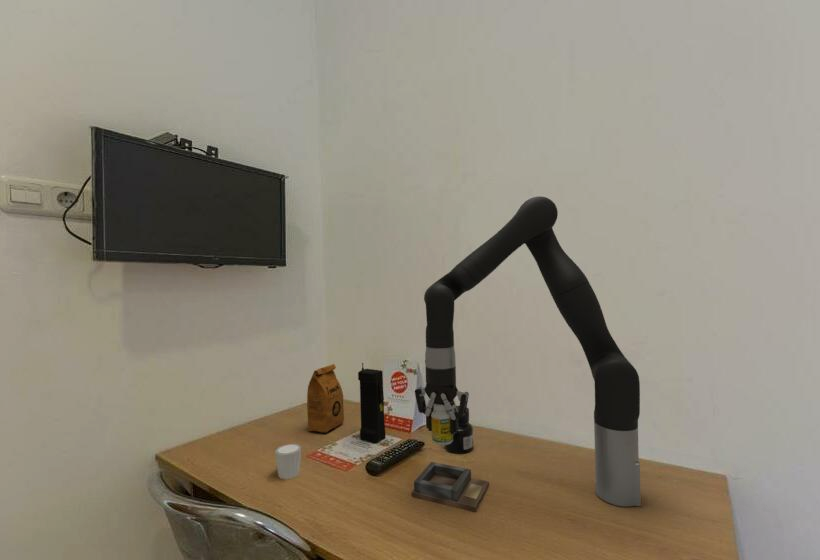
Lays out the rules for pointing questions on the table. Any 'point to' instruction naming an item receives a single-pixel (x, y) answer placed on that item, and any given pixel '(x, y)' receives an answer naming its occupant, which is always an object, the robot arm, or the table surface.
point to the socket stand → (450, 486)
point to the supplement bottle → (441, 425)
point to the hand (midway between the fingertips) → (442, 431)
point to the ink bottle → (462, 436)
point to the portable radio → (371, 405)
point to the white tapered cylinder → (288, 460)
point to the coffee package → (324, 400)
